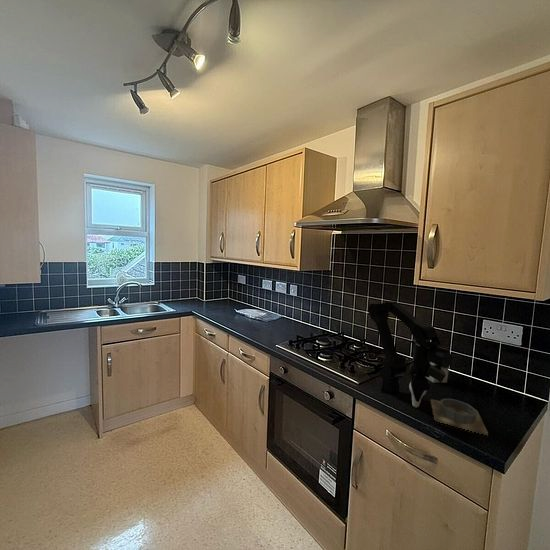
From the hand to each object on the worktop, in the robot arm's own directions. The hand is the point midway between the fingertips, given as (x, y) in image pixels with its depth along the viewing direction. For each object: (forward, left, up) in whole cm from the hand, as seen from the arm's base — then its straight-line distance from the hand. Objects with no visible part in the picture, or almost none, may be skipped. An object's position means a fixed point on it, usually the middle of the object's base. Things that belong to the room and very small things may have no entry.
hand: (416, 396), depth 116 cm
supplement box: (+10, +34, -5) cm, 36 cm away
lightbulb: (0, 0, -5) cm, 5 cm away
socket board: (+14, 0, -4) cm, 15 cm away
